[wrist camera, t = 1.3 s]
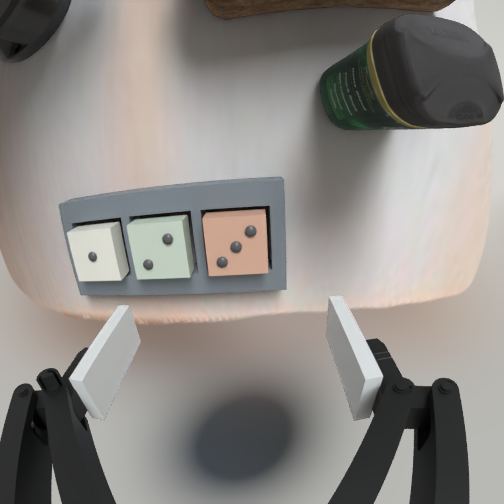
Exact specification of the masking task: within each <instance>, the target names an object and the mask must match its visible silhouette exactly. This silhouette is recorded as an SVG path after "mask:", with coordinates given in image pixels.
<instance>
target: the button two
mask: <svg viewBox="0 0 504 504" xmlns="http://www.w3.org/2000/svg"><path fill="white" fill-rule="evenodd" d="M127 232H128V237H129V243H130V248H131V253H132V258H133V263H134V267H135V272H136V276H137V279H166V278H190V277H191V274H192V272H193V270H194V261H193V254H192V247H191V239H190V231H189V223H188V215H178V216H166V217H155V218H144V219H135V220H134V221H132V222H131V223H130V224H128V225H127Z"/></svg>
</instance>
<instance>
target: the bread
mask: <svg viewBox="0 0 504 504" xmlns="http://www.w3.org/2000/svg"><path fill="white" fill-rule="evenodd" d="M204 1H205V3H206V4H207V6H208V8H209V9H210V11H211V12H212V14H213V15H215V16H218V17H220V18H223V19H225V20H227V19H231V18H235V17H241V16H247V15H253V14H260V13H268V12H277V11H286V10H296V9H306V8H319V7H337V6H353V7H370V8H394V9H406V10H419V11H439V10H441V9H443V8H445V7H447V6H449V5H450V4H451V3H453V2H454V1H455V0H204Z"/></svg>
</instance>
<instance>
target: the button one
mask: <svg viewBox="0 0 504 504" xmlns="http://www.w3.org/2000/svg"><path fill="white" fill-rule="evenodd" d="M67 236H68V240H69V244H70V249H71V253H72V257H73V261H74V265H75V268H76V272H77V275H78V279H79V281H119V280H122V279H123V278H124V277H125V276H126V275H127V273H128V272H129V267H128V262H127V258H126V253H125V248H124V243H123V238H122V232H121V227H120V222H111V223H102V224H93V225H85V226H77V227H76V228H74V229H72V230H71V231H69V232H67Z"/></svg>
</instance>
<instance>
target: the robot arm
mask: <svg viewBox="0 0 504 504" xmlns="http://www.w3.org/2000/svg"><path fill="white" fill-rule="evenodd" d="M69 4H70V0H0V60H2V61H7V62H18V61H21V60H24V59H26V58H27V57H29V56H31V55H32V54H33V53H35V52H36V51H37V50H38V49H39V48H40V47H41V46H42V45H43V44H44V43H45V42H46V41H47V40H48V39H49V38H50V36H51V35H52V34H53V33H54V31H55V30H56V29H57V27H58V26H59V24H60V22H61V21H62V19H63V17H64V15H65V13H66V11H67V9H68V6H69ZM326 332H327V333H326V337H327V339H328V343H329V345H330V349H331V351H332V354H333V357H334V360H335V363H336V366H337V369H338V372H339V375H340V378H341V382H342V384H343V388H344V391H345V394H346V397H347V400H348V403H349V407H350V409H351V413H352V416H353V420H354V421H355V420H360V419H365V418H370V415H371V413H372V410H373V412H374V417H373V419H372V422H371V424H370V426H369V429H368V430H367V433H366V435H365V437H364V439H363V441H362V444H361V445H360V447H359V450H358V451H357V453H356V455H355V457H354V459H353V461H352V463H351V465H350V467H349V468H348V470H347V472H346V474H345V476H344V478H343V479H342V481H341V483H340V485H339V486H338V488H337V490H336V492H335V493H334V495H333V496H332V498H331V499H330V501H329V503H328V504H374V502H375V500H376V497H377V495H378V493H379V491H380V489H381V487H382V484H383V482H384V480H385V478H386V476H387V473H388V471H389V468H390V466H391V464H392V461H393V459H394V456H395V453H396V451H397V448H398V445H399V442H400V439H401V437H402V433H403V431H404V429H414V456H413V474H412V485H411V495H410V504H469V466H468V452H467V441H466V432H465V424H464V417H463V411H462V405H461V399H460V393H459V388H458V386H457V384H456V383H455V382H454V381H452V380H451V379H448V378H439V379H437V380H435V381H434V383H433V384H432V386H415V385H414V383H413V382H412V381H410V380H409V379H407V378H403V377H402V375H401V373H400V371H399V370H398V368H397V366H396V364H395V362H394V360H393V359H392V358H391V355H390V353H389V352H388V350H387V348H386V346H385V344H384V343H382V342H381V341H380V340H378V339H370V340H365V338H364V336H363V334H362V332H361V330H360V329H359V327H358V325H357V323H356V321H355V319H354V317H353V315H352V313H351V311H350V309H349V307H348V305H347V304H346V302H345V300H344V298H343V296H342V295H340V296H329V305H328V319H327V331H326ZM140 343H141V341H140V338H139V335H138V332H137V328H136V325H135V322H134V318H133V315H132V312H131V308H130V305H119V306H118V307H117V309H116V310H115V311H114V313H113V314H112V316H111V317H110V318H109V320H108V321H107V323H106V324H105V325H104V327H103V328H102V330H101V331H100V333H99V334H98V335H97V337H96V338H95V340H94V341H93V343H92V344H91V346H90V347H89V348H84V349H83V350H82V351H80V352H79V353H78V354H77V356H76V357H75V359H74V360H73V362H72V363H71V365H70V366H69V368H68V369H67V371H66V372H65V374H64V375H63V377H61V376H60V374H59V372H58V370H56V369H54V368H49V369H45V370H43V371H42V372H41V373H40V374H39V375H38V376H37V382H38V384H39V385H40V387H41V389H42V390H39V391H35V390H34V389H33V387H32V386H31V385H30V384H21V385H19V386H18V387H17V388H16V389H15V390H14V393H13V396H12V399H11V402H10V406H9V409H8V413H7V416H6V420H5V424H4V428H3V432H2V437H1V441H0V504H51V479H52V463H53V468H54V473H55V477H56V482H57V486H58V490H59V494H60V497H61V501H62V504H116V503H115V500H114V498H113V495H112V493H111V490H110V488H109V485H108V483H107V480H106V478H105V475H104V472H103V469H102V466H101V464H100V461H99V458H98V455H97V452H96V448H95V445H94V442H93V439H92V435H91V431H90V428H89V424H88V420H87V419H86V417H85V414H86V412H87V411H88V412H89V414H90V415H91V417H92V418H96V419H101V420H105V418H106V415H107V414H108V411H109V409H110V406H111V405H112V402H113V400H114V398H115V396H116V393H117V391H118V389H119V387H120V385H121V382H122V380H123V378H124V376H125V374H126V372H127V370H128V367H129V365H130V363H131V361H132V359H133V357H134V354H135V353H136V351H137V349H138V347H139V345H140Z"/></svg>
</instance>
